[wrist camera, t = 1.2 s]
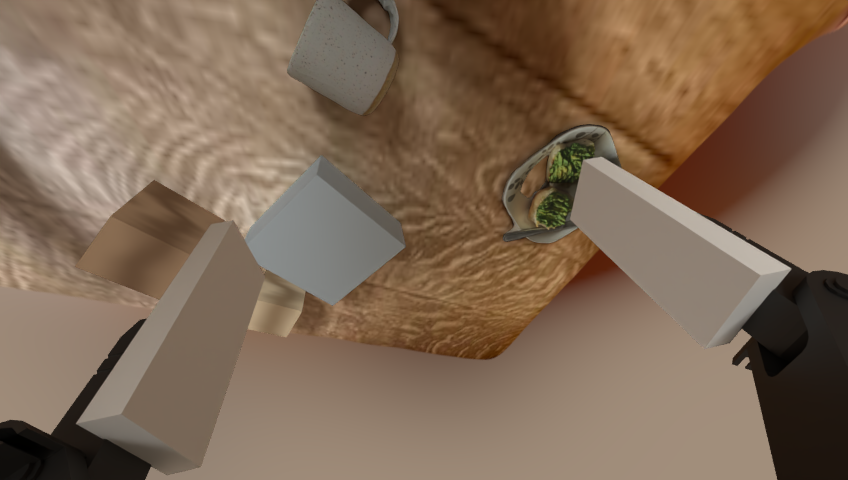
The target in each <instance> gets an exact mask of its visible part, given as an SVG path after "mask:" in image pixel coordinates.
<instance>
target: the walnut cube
mask: <svg viewBox="0 0 848 480" xmlns="http://www.w3.org/2000/svg"><path fill="white" fill-rule="evenodd" d="M223 221H224V220H223V219H221V218H220V217H218V216H216V215H214V214H213V213H211V212H209V211H207V210H206V209H204V208H202V207H200V206H199V205H197V204H195V203H193V202H192V201H190V200H188V199H186V198H185V197H183V196H181V195H179V194H178V193H176V192H174V191H172V190H171V189H169V188H167V187H165V186H164V185H162V184H160V183H158V182H157V181H155V180H154V181H152V182H151V183H150V184H149V185H148V186H146V187H145V188H144V189H143V190H142V191H140V192H139V193H138V194H137V195H136V196H134V197H133V198H132V199H131V200H130V201H128V202H127V203H126V204H125V205H124V206H122V207H121V208H120V209H119V210H118V211H116V212H115V213H114V214H113V215H111V216H110V218H109V219H108V221H107V222H106V223H105V225H104V226H103V228H102V229H101V230H100V232H99V233H98V235H97V236H96V238H95V239H94V240H93V242H92V243H91V245H90V246H89V247H88V249H87V250H86V252H85V253H84V254H83V256H82V257H81V259H80V260H79V261H78V263H77V264H76V266H75V267H77V268H80V269H82V270H85V271H87V272H90V273H92V274H95V275H98V276H100V277H103V278H105V279H108V280H110V281H113V282H115V283H118V284H121V285H123V286H126V287H128V288H131V289H133V290H136V291H138V292H141V293H144V294H146V295H149V296H151V297H154V298H156V299H159V300H160V299H161V297H162V296H163V294H164V293H165V291H166V290H167V288H168V287H169V285H170V284H171V282H172V281H173V279H174V278H175V277H176V275H177V274H178V272H179V271H180V269H181V268H182V266H183V265H184V263H185V262H186V260H187V259H188V257H189V256H190V254H191V253H192V251H193V250H194V248H195V247H196V245H197V244H198V243H199V241H200V240H201V238H202V237H203V235H204V234H205V232H206V231H207V229H208V228H209V226H210V225H211V224H215V223H221V222H223Z"/></svg>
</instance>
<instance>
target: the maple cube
mask: <svg viewBox="0 0 848 480" xmlns="http://www.w3.org/2000/svg"><path fill="white" fill-rule="evenodd" d="M264 276H265V279H264V282H263V285H262V288H261V291H260V294H259V297H258V300H257V303H256V305H255V308H254V311H253V314H252V317H251V320H250V323H249V326H248V329H250V330H255V331H259V332H264V333H268V334H273V335H278V336H282V337H287V335H288V334H289V332H290V331H291V329H292V327H293V326H294V324H295V322H296V321H297V319H298V317H299V316H300V314H301V312H302V309H303V303H304V298H305V292H306V291H305V290H303V289H301V288H300V287H298V286H296V285H294V284H292V283H290V282H289V281H287V280H285V279H283V278H281V277H280V276H278V275H276V274H274V273H272V272H271V271H269V270H266V272H265V274H264Z"/></svg>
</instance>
